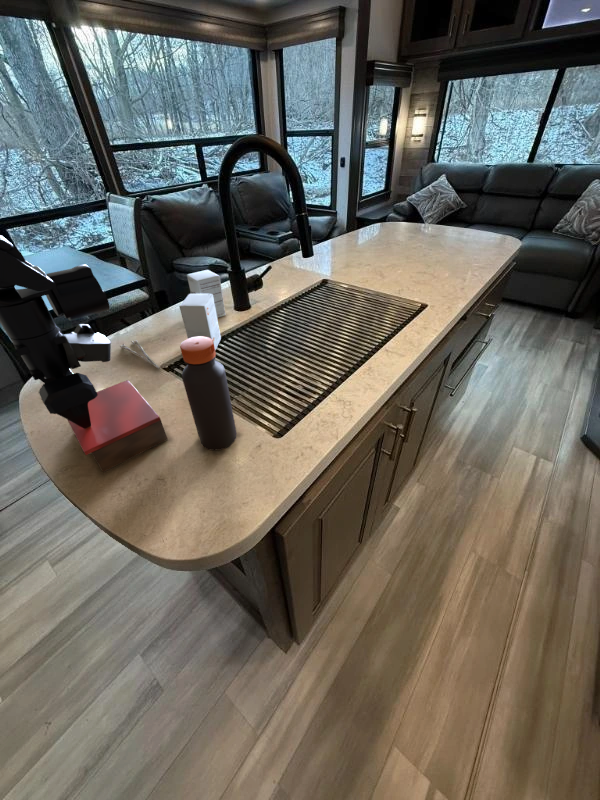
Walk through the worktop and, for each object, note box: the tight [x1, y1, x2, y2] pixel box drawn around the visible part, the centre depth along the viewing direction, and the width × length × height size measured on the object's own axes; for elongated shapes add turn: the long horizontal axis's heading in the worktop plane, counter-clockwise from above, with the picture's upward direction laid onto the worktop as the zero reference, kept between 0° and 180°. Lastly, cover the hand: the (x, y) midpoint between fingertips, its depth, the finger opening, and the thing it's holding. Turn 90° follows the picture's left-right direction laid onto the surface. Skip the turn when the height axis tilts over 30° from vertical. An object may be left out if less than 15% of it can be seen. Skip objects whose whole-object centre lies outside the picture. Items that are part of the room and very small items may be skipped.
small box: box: [179, 293, 222, 351], centre depth 86 cm, size 8×6×13 cm
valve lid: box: [66, 379, 162, 456], centre depth 59 cm, size 12×16×5 cm
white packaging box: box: [186, 269, 227, 319], centre depth 101 cm, size 7×7×13 cm
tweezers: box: [119, 339, 161, 370], centre depth 85 cm, size 17×5×2 cm, turn 46°
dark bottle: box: [179, 336, 237, 451], centre depth 56 cm, size 7×7×20 cm
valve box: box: [91, 419, 169, 473], centre depth 62 cm, size 12×16×5 cm
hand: (79, 413), depth 57 cm, fingers open, 9 cm apart
